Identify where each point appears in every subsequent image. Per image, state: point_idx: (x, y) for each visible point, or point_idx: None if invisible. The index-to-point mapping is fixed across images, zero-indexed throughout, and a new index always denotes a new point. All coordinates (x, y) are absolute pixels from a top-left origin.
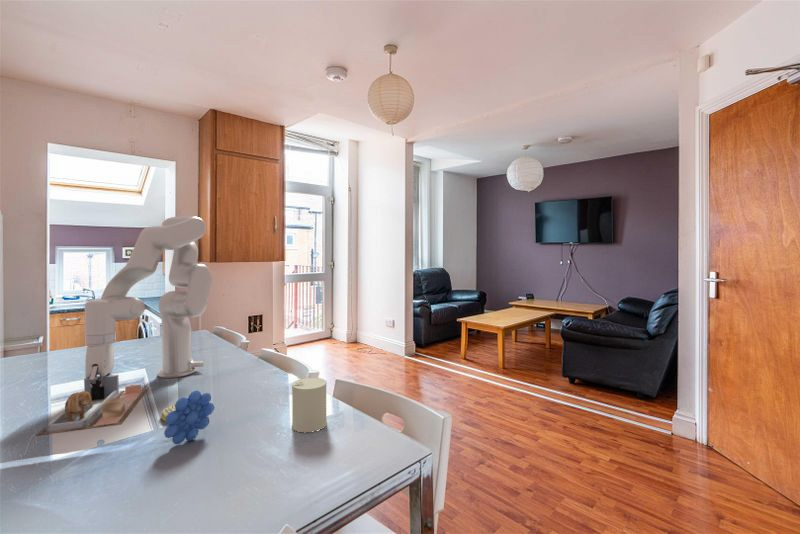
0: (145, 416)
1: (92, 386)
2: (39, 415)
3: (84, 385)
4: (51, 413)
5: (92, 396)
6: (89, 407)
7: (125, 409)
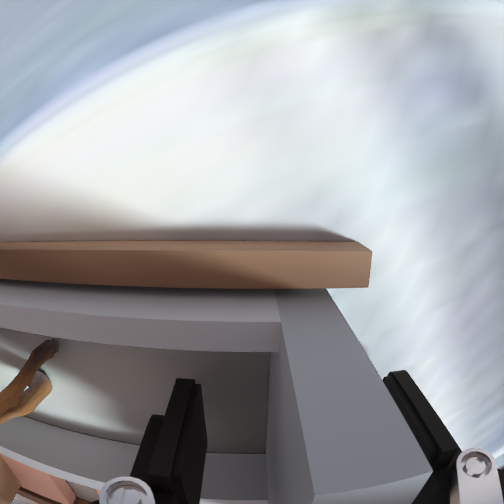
0: (24, 500)
1: (107, 498)
2: (43, 59)
3: (296, 392)
4: (46, 123)
5: (172, 404)
6: (31, 385)
7: (30, 488)
